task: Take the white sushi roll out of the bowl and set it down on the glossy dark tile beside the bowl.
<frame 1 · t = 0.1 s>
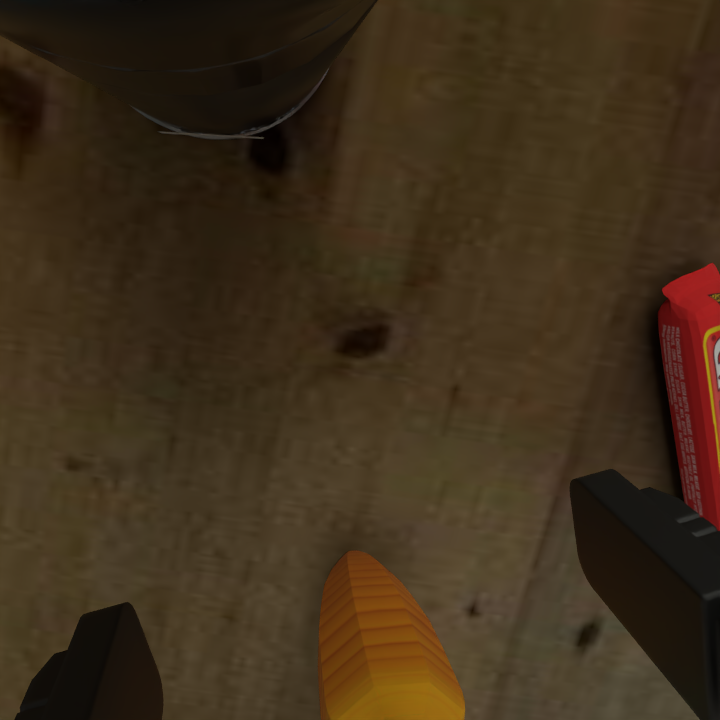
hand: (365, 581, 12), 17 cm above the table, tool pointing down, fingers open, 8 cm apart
candy bar: (694, 420, 32), on the table
carrot: (350, 553, 31), on the table
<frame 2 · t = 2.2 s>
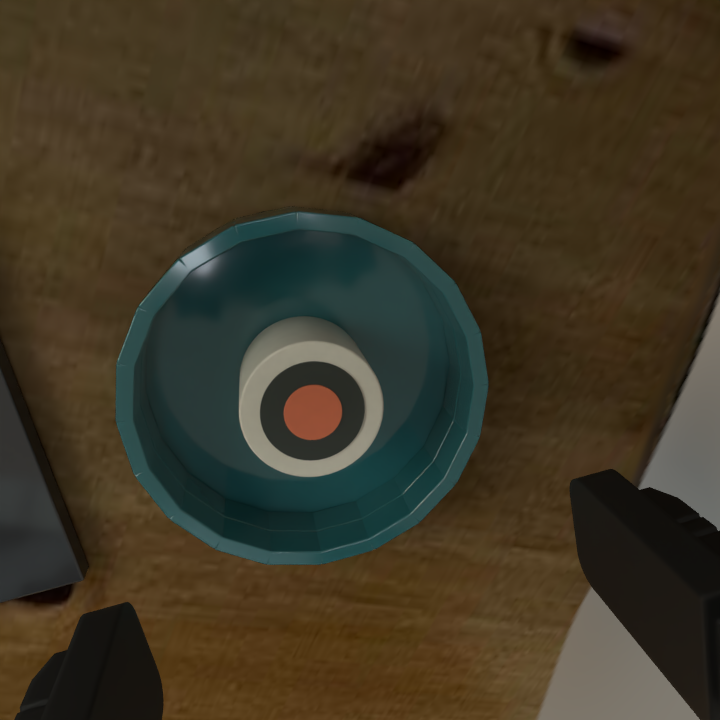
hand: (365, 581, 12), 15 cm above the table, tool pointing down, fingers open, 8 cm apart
sushi roll: (302, 376, 26), resting on bowl
bowl: (302, 373, 27), on the table
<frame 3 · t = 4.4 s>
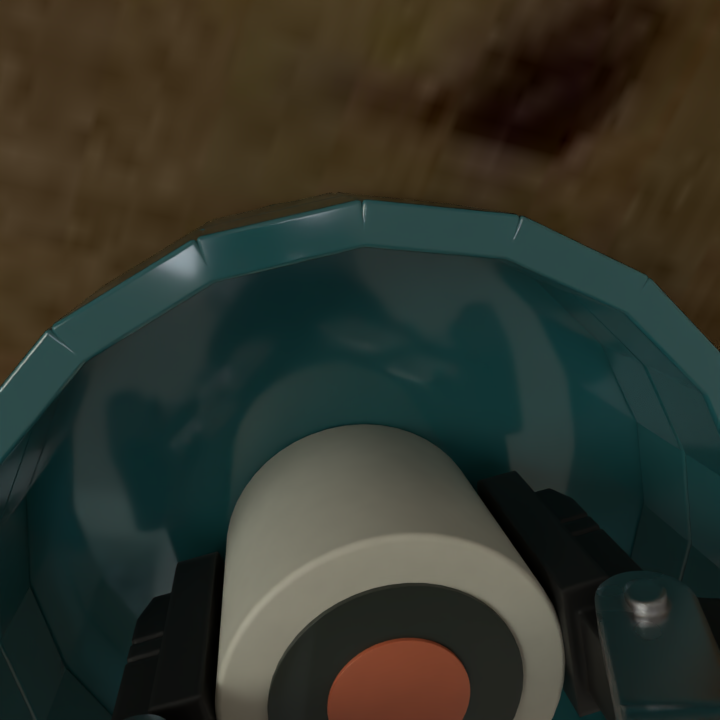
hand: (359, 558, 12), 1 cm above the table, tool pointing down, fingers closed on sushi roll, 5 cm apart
sushi roll: (355, 541, 13), resting on bowl, touching gripper
bowl: (352, 530, 13), on the table
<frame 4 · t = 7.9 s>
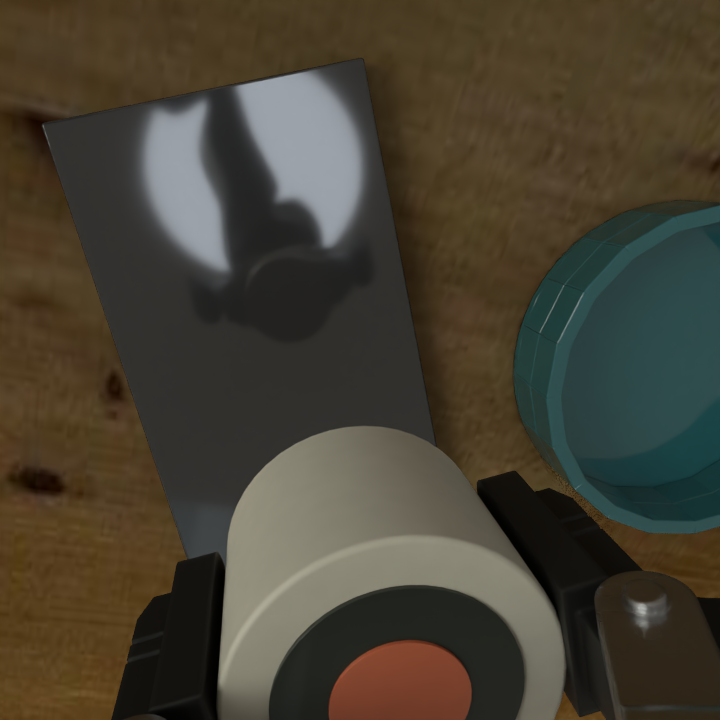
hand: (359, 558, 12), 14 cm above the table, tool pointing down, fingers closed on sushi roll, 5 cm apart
glossy dark tile: (276, 359, 26), on the table
sushi roll: (356, 542, 13), point 14 cm above the table, touching gripper
bowl: (657, 356, 28), on the table
when the fingers open (2 cm above the table, at t = 11.3 s): sushi roll stays where it is, resting on glossy dark tile.
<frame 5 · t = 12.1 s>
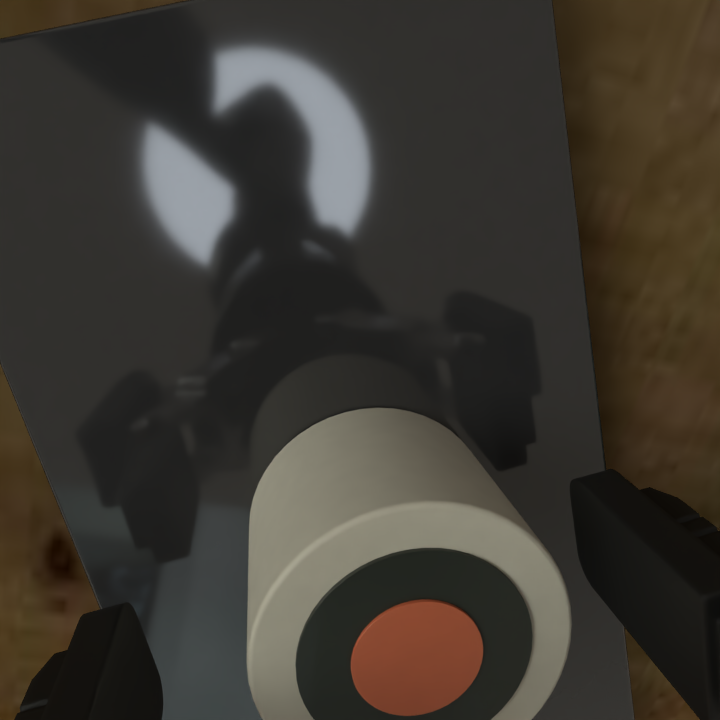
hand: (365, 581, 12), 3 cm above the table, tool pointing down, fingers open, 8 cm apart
glossy dark tile: (351, 498, 14), on the table
sushi roll: (371, 519, 14), point 1 cm above the table, touching glossy dark tile
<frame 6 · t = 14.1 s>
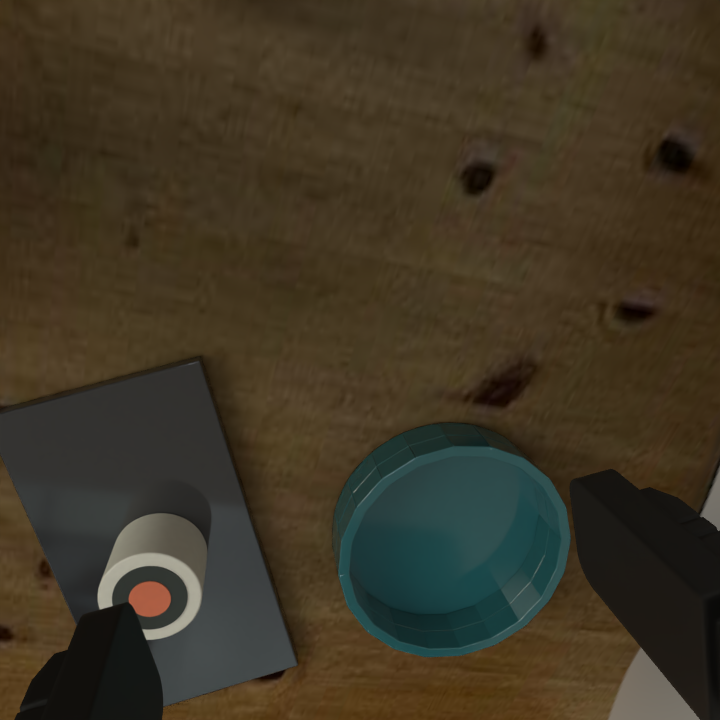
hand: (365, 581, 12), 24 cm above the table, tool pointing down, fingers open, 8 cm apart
glossy dark tile: (158, 544, 37), on the table
sushi roll: (161, 553, 36), point 1 cm above the table, touching glossy dark tile
bowl: (440, 524, 40), on the table
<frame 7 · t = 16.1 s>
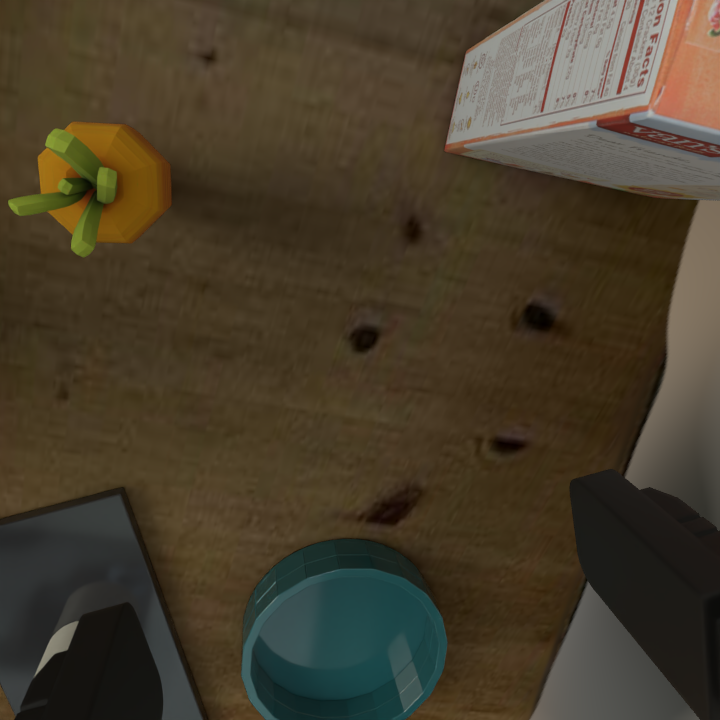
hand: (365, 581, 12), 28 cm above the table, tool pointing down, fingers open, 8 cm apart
cracker box: (562, 125, 38), on the table
glossy dark tile: (88, 642, 42), on the table
sushi roll: (88, 652, 42), point 1 cm above the table, touching glossy dark tile
bowl: (339, 623, 45), on the table
carrot: (144, 180, 36), on the table
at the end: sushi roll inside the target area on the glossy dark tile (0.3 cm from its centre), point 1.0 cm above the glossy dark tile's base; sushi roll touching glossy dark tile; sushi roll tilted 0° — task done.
